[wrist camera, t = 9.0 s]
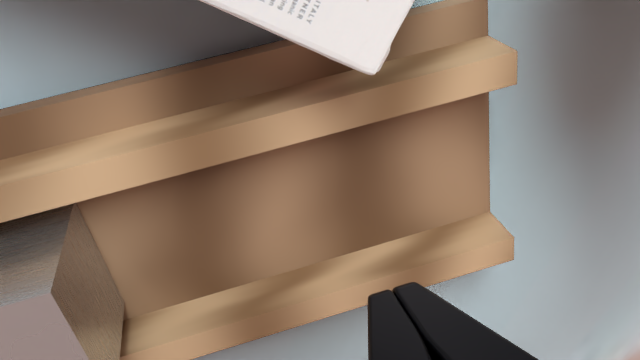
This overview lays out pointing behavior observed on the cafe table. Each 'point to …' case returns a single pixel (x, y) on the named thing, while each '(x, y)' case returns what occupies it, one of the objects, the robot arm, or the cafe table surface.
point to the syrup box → (329, 26)
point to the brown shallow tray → (273, 180)
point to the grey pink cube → (56, 290)
